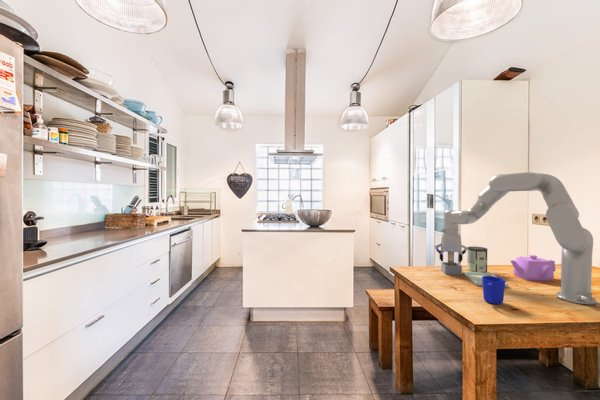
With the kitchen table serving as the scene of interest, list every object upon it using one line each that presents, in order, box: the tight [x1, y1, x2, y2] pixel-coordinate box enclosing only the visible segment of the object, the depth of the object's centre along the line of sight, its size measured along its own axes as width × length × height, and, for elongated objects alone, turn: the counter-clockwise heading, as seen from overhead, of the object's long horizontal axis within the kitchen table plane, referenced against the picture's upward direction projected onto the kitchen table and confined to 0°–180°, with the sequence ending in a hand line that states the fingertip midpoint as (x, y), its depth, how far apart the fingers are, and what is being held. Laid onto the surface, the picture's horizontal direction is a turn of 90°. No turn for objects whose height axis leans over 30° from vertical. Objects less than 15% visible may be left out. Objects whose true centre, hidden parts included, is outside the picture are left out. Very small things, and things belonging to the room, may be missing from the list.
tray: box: [462, 271, 509, 289], centre depth 151 cm, size 20×14×2 cm
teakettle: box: [510, 254, 556, 282], centre depth 156 cm, size 17×17×12 cm
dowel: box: [447, 252, 455, 266], centre depth 165 cm, size 3×3×14 cm
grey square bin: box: [440, 261, 463, 276], centre depth 165 cm, size 9×9×6 cm
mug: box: [482, 276, 506, 305], centre depth 120 cm, size 8×12×10 cm
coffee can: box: [466, 246, 489, 273], centre depth 169 cm, size 10×10×14 cm
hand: (450, 261), depth 165 cm, fingers open, 9 cm apart
